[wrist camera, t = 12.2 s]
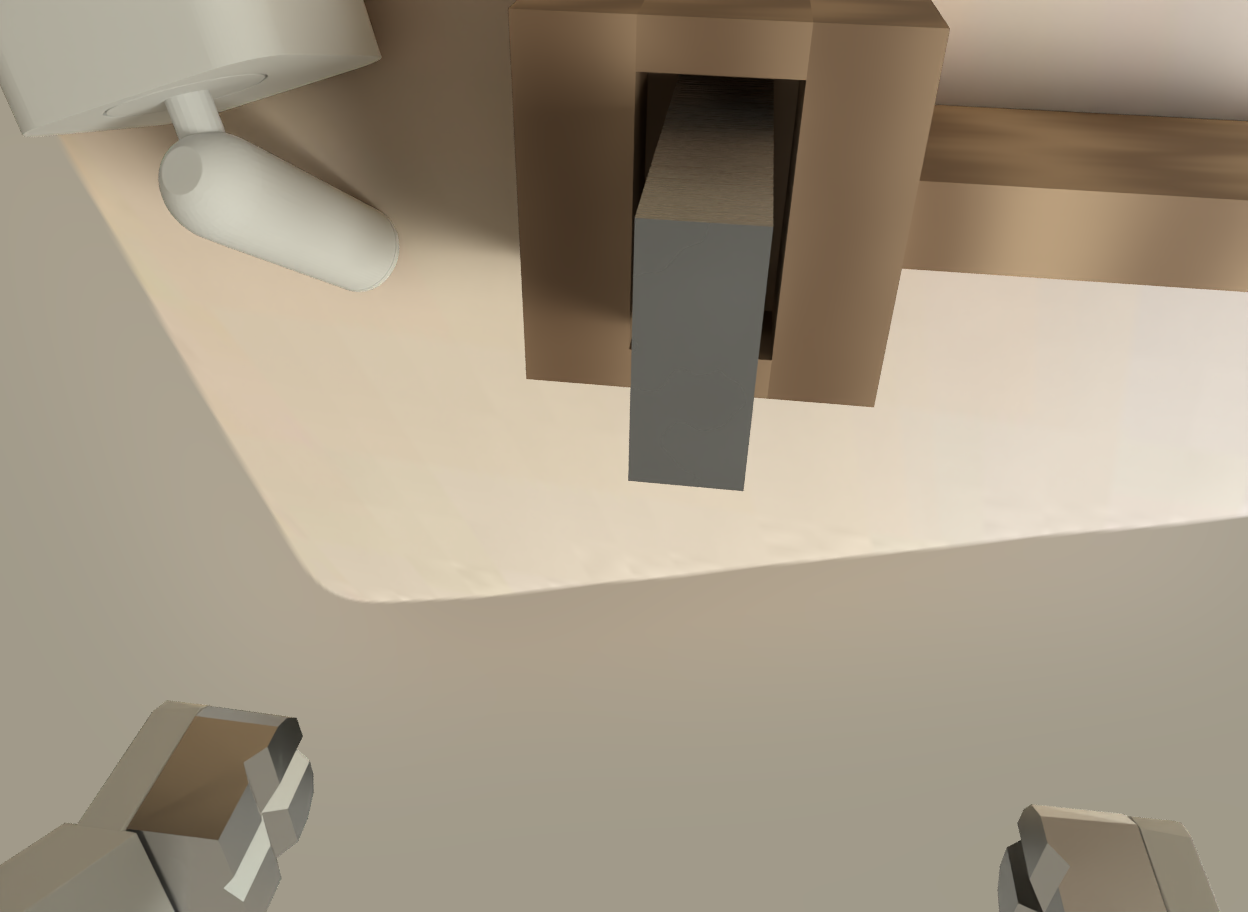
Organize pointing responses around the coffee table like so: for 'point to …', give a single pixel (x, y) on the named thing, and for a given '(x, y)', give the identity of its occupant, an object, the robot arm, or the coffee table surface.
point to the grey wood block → (701, 283)
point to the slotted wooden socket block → (839, 180)
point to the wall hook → (206, 112)
